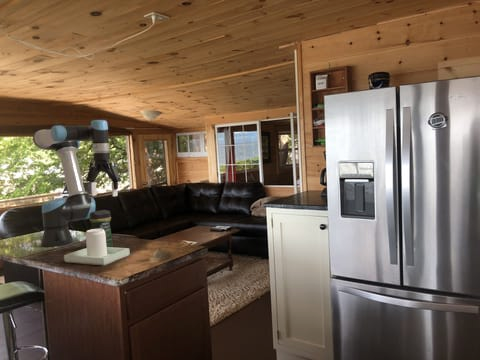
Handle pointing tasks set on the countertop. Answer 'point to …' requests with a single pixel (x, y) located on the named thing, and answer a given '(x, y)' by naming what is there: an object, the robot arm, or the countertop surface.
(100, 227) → the coffee jar
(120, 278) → the countertop surface
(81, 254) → the tray
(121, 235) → the countertop surface
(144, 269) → the countertop surface
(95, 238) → the beverage can
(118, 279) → the countertop surface
